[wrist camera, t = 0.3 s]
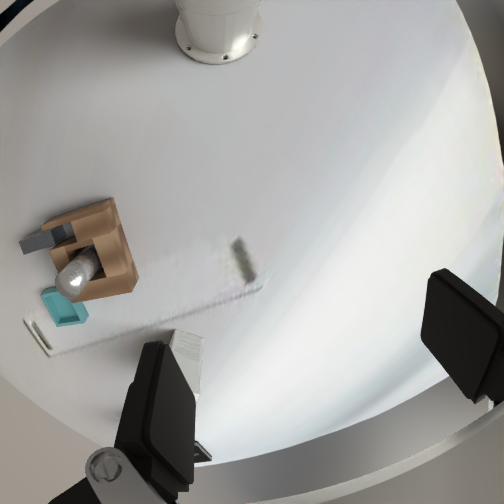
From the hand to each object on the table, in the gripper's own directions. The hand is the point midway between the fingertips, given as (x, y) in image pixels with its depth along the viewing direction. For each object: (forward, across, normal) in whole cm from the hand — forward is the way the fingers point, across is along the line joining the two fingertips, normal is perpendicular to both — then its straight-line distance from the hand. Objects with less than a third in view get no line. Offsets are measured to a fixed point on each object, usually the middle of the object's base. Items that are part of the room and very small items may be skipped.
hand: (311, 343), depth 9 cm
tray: (+36, +37, +13) cm, 54 cm away
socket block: (+36, +26, +5) cm, 45 cm away
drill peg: (+36, +26, +5) cm, 45 cm away
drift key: (+36, +35, 0) cm, 50 cm away
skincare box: (+37, +17, +28) cm, 49 cm away
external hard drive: (+37, +29, +67) cm, 82 cm away
